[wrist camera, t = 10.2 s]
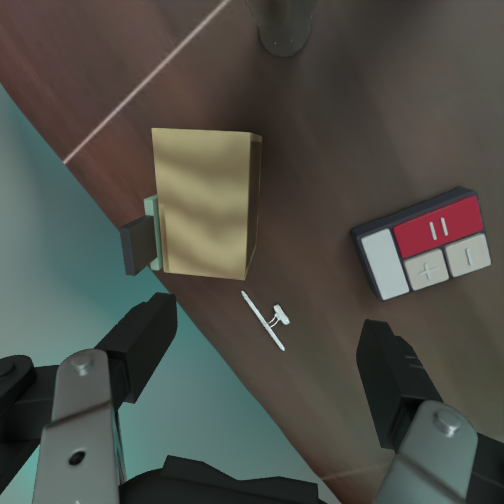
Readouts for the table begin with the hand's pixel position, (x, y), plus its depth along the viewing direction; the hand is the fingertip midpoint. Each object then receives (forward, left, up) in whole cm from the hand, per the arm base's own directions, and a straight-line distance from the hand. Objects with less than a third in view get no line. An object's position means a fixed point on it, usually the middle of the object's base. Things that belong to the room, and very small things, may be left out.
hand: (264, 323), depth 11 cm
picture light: (+20, -4, -30) cm, 37 cm away
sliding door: (0, -15, -29) cm, 33 cm away
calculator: (+9, +18, -30) cm, 36 cm away
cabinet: (-2, -8, -30) cm, 31 cm away
